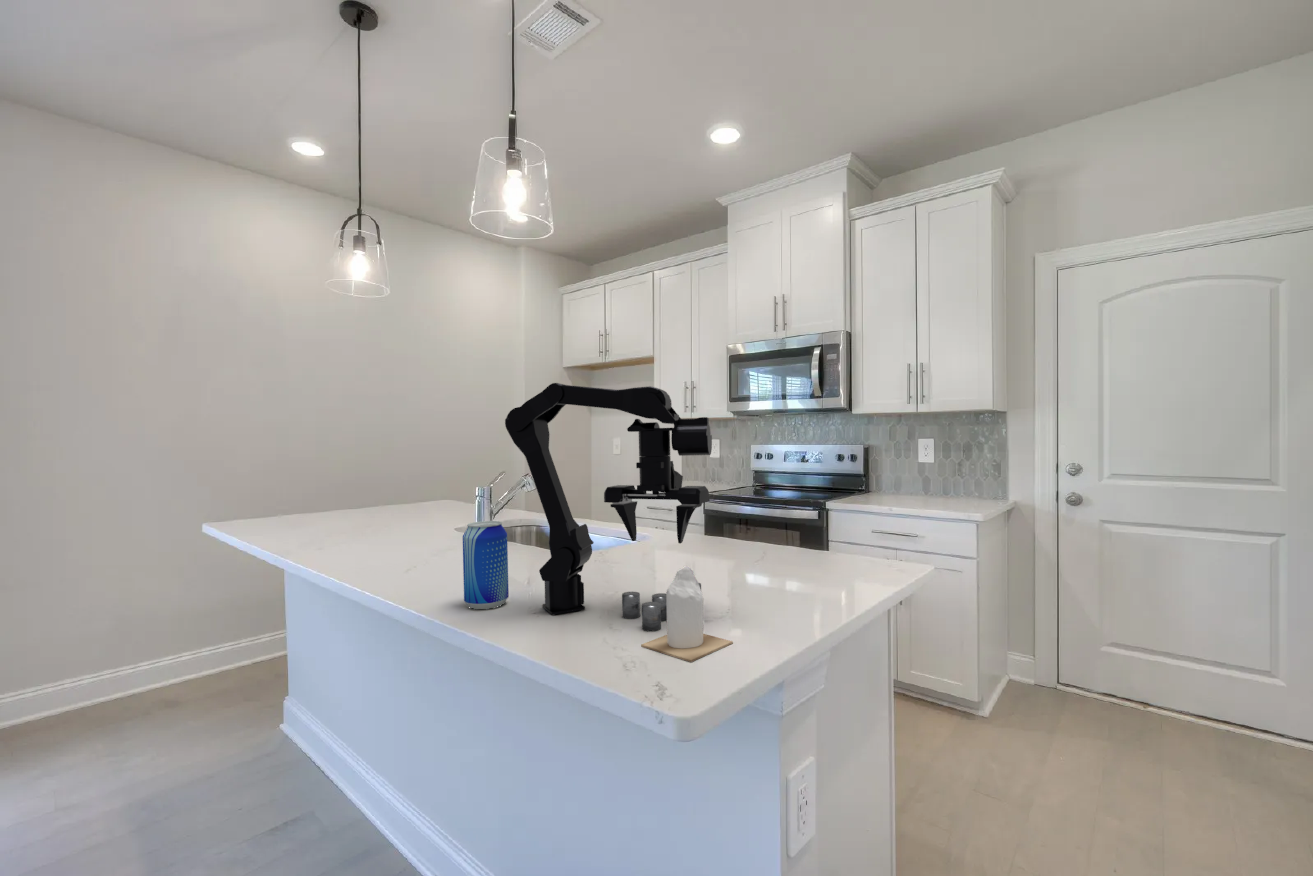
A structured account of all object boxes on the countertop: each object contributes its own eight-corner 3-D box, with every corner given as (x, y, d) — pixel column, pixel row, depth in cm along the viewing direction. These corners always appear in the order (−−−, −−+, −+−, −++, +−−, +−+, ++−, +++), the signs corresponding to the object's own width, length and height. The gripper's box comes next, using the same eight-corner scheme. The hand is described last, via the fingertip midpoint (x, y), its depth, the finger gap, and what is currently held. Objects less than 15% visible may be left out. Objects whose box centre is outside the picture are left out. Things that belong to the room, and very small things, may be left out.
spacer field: (655, 637, 95) (655, 612, 95) (619, 615, 107) (619, 593, 107) (739, 621, 102) (738, 598, 102) (696, 602, 115) (695, 581, 115)
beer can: (485, 613, 111) (482, 527, 111) (454, 607, 115) (452, 525, 115) (517, 602, 118) (515, 521, 118) (488, 597, 122) (486, 519, 122)
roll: (684, 559, 96) (710, 564, 92) (685, 633, 96) (712, 642, 91) (657, 565, 91) (684, 570, 87) (659, 643, 91) (685, 652, 87)
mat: (641, 646, 91) (641, 644, 91) (683, 630, 98) (683, 628, 98) (691, 662, 84) (691, 660, 84) (732, 643, 91) (732, 641, 91)
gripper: (717, 454, 112) (719, 537, 112) (628, 455, 119) (630, 532, 119) (697, 456, 102) (699, 547, 102) (601, 457, 109) (603, 542, 109)
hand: (656, 541), depth 108 cm, fingers open, 9 cm apart
